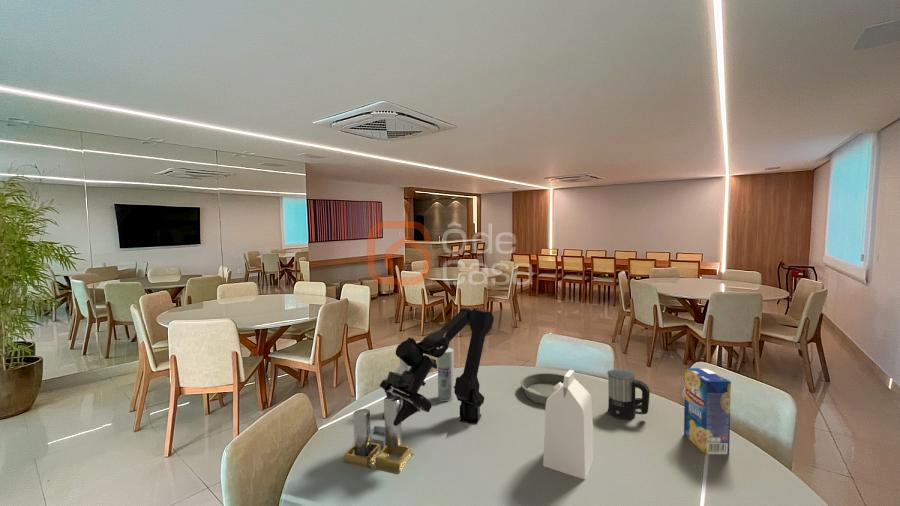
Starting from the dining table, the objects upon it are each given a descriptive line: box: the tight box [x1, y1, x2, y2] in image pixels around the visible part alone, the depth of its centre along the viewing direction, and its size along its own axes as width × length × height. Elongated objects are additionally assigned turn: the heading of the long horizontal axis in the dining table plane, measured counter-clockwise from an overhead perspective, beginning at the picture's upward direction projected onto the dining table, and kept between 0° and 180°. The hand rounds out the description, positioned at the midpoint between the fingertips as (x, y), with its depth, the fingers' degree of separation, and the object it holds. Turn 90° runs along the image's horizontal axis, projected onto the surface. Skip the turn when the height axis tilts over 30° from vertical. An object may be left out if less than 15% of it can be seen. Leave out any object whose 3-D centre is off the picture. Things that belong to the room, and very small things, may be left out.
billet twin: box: [352, 408, 372, 457], centre depth 109 cm, size 5×5×13 cm
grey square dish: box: [370, 424, 386, 448], centre depth 118 cm, size 8×8×3 cm
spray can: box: [437, 347, 455, 402], centre depth 148 cm, size 6×6×20 cm
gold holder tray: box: [342, 443, 414, 475], centre depth 108 cm, size 18×10×3 cm, turn 71°
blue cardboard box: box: [683, 367, 732, 455], centre depth 114 cm, size 7×11×22 cm, turn 177°
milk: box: [542, 369, 595, 480], centre depth 106 cm, size 12×12×26 cm
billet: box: [383, 395, 403, 447], centre depth 107 cm, size 5×5×13 cm
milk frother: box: [607, 369, 651, 420], centre depth 136 cm, size 14×16×15 cm
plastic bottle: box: [396, 358, 411, 408], centre depth 139 cm, size 6×7×20 cm
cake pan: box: [520, 372, 565, 406], centre depth 152 cm, size 25×25×4 cm
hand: (389, 422), depth 106 cm, fingers closed on billet, 5 cm apart
